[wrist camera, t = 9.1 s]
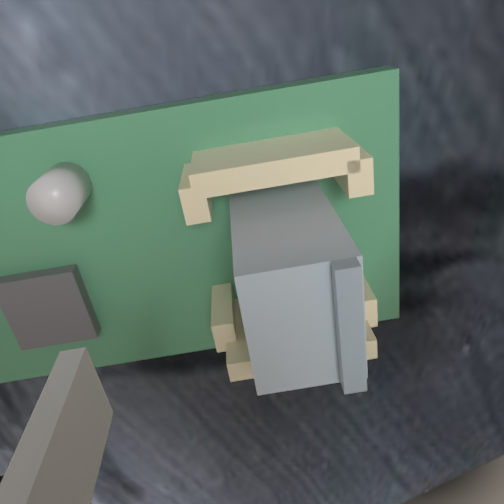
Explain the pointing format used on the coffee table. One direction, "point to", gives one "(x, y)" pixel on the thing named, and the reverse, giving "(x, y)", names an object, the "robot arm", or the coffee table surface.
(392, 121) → the board
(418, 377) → the coffee table surface
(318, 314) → the plug
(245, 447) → the coffee table surface
